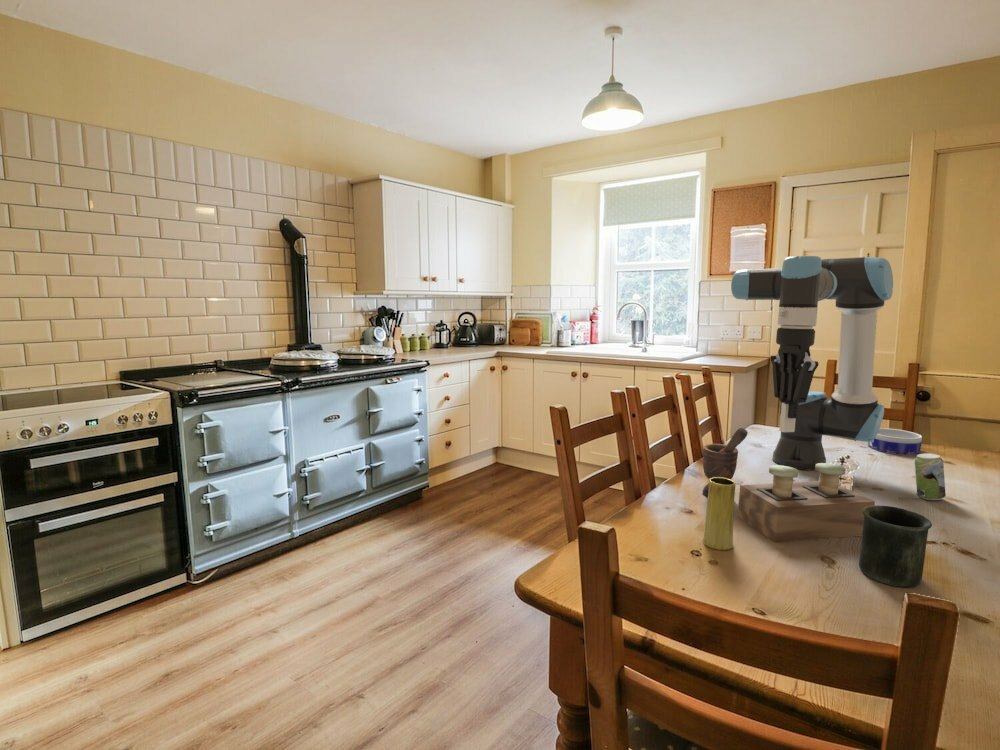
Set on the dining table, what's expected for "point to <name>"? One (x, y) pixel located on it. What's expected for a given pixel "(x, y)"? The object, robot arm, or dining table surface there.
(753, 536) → the dining table surface
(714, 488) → the vase
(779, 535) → the socket block
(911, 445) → the dog bowl
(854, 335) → the robot arm
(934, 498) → the beverage can
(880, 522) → the mug
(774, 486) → the peg
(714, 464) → the mortar and pestle
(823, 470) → the peg
